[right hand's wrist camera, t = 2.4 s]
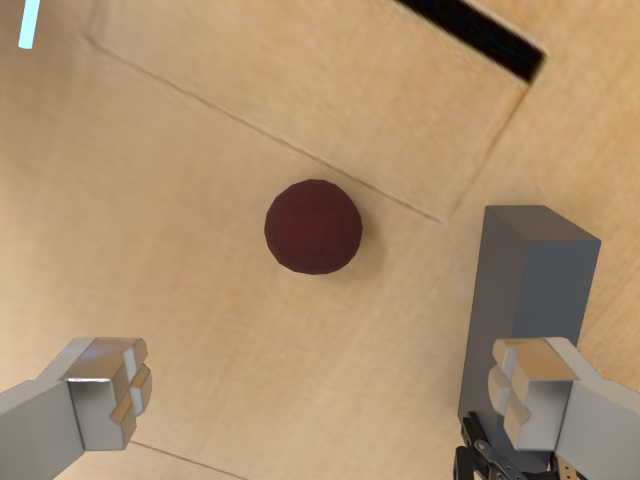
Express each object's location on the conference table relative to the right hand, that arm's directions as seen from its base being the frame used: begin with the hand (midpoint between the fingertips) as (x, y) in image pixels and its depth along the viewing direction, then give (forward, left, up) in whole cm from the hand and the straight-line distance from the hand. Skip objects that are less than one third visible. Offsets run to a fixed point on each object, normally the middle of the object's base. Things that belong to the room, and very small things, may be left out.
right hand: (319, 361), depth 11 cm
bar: (+16, +17, -28) cm, 37 cm away
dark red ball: (+5, 0, -28) cm, 29 cm away
